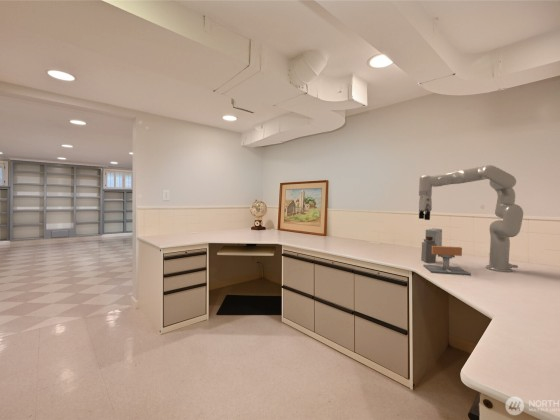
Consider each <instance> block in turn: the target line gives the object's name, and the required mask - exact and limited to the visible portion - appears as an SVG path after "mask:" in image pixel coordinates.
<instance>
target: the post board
mask: <svg viewBox="0 0 560 420" xmlns="http://www.w3.org/2000/svg"><path fill="white" fill-rule="evenodd" d="M450 259H451V258H442V265H436V264H435V265H434V264H423V265H422V266H423V267H424V268H425V269H426V270H428V271H429V272H430V273H431V274H443V275H444V274H445V275H457V276H458V275H459V276H472V273H470V272H469V271H467V270H465V269H463V268H462V267H460V266H450V261H451V260H450Z"/></svg>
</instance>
